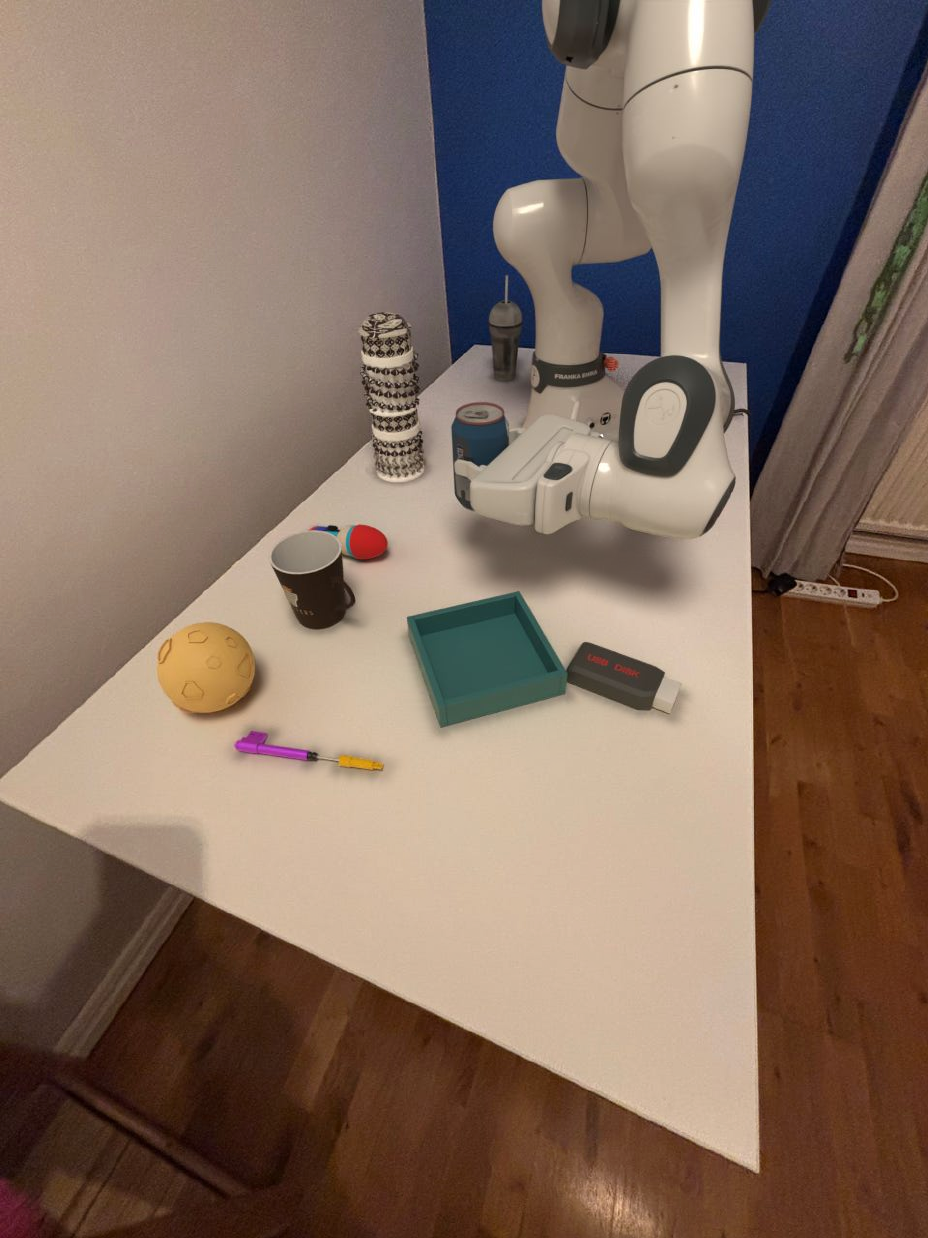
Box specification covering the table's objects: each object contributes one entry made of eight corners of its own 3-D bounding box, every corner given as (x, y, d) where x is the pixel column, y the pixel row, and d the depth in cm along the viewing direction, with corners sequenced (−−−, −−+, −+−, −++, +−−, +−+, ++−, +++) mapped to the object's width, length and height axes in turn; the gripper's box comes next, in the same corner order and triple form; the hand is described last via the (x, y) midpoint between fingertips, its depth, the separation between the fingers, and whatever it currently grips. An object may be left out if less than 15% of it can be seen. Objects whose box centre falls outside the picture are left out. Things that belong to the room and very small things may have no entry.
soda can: (511, 488, 80) (513, 401, 72) (503, 517, 75) (504, 426, 67) (461, 484, 81) (457, 398, 73) (449, 512, 76) (444, 422, 68)
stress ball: (166, 688, 69) (130, 627, 63) (247, 652, 73) (222, 590, 67) (191, 747, 63) (155, 686, 57) (278, 703, 67) (254, 641, 60)
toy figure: (292, 563, 88) (377, 572, 82) (281, 533, 86) (368, 540, 79) (321, 538, 94) (403, 545, 88) (312, 510, 91) (396, 514, 85)
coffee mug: (282, 601, 80) (263, 541, 73) (345, 584, 82) (331, 523, 75) (300, 659, 72) (281, 598, 65) (369, 638, 74) (357, 576, 68)
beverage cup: (486, 383, 131) (485, 281, 117) (490, 370, 136) (490, 271, 122) (519, 384, 130) (522, 282, 116) (522, 371, 135) (526, 272, 121)
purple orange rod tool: (233, 752, 62) (380, 774, 60) (231, 744, 62) (380, 766, 60) (246, 735, 65) (388, 756, 62) (244, 727, 64) (388, 748, 62)
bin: (518, 610, 77) (519, 590, 75) (565, 694, 67) (567, 673, 65) (409, 636, 74) (406, 616, 72) (440, 727, 64) (438, 707, 62)
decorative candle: (436, 473, 103) (426, 318, 86) (389, 489, 100) (368, 331, 83) (412, 452, 109) (397, 303, 92) (366, 466, 106) (342, 315, 89)
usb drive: (580, 651, 72) (583, 635, 70) (680, 688, 67) (685, 672, 65) (563, 680, 69) (565, 664, 67) (666, 721, 64) (672, 705, 62)
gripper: (613, 412, 73) (512, 393, 78) (544, 492, 60) (428, 462, 65) (607, 460, 77) (511, 438, 82) (541, 543, 64) (432, 511, 70)
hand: (474, 449), depth 74 cm, fingers closed on soda can, 7 cm apart
